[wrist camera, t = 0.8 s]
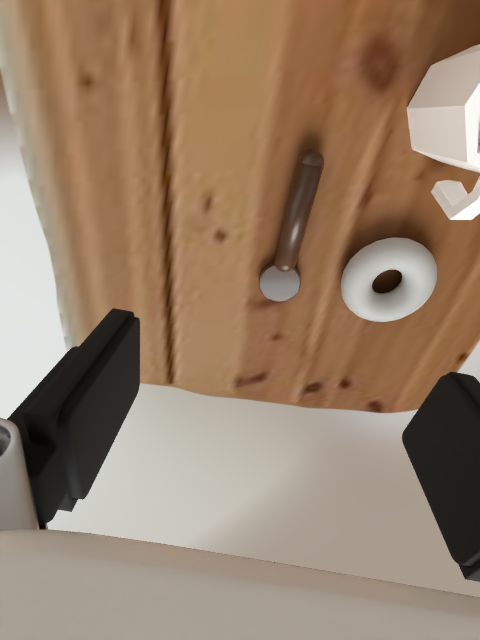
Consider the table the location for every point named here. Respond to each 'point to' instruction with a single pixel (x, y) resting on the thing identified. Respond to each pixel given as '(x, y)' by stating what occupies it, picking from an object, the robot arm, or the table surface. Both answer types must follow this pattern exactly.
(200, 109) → the table surface
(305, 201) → the spoon
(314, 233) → the table surface
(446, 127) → the mug
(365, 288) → the donut
